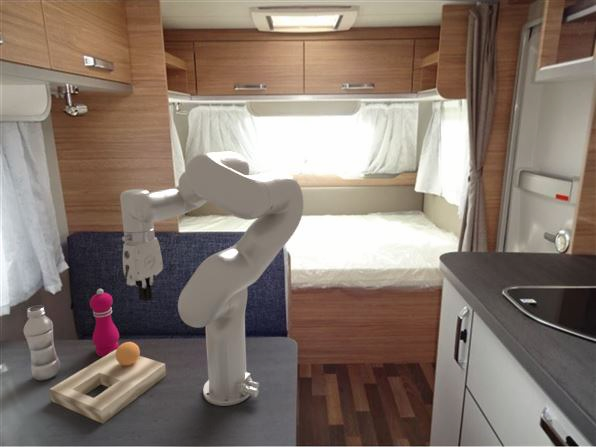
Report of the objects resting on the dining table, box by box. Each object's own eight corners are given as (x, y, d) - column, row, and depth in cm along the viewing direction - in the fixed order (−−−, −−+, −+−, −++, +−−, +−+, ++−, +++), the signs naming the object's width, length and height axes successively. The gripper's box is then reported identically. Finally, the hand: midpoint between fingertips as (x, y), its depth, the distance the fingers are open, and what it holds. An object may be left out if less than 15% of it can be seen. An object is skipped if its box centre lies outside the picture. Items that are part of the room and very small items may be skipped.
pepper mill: (110, 358, 116) (102, 294, 111) (88, 355, 117) (79, 292, 113) (125, 345, 123) (118, 285, 118) (105, 343, 124) (97, 283, 119)
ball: (145, 360, 109) (143, 340, 107) (128, 372, 103) (125, 351, 102) (129, 355, 111) (127, 335, 110) (111, 366, 106) (109, 346, 104)
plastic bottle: (66, 372, 109) (56, 305, 105) (42, 386, 103) (30, 316, 99) (51, 366, 112) (40, 301, 107) (27, 380, 106) (14, 311, 101)
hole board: (166, 375, 108) (165, 363, 107) (102, 423, 90) (101, 410, 89) (118, 359, 115) (117, 348, 114) (51, 401, 98) (49, 388, 97)
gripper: (127, 244, 98) (134, 312, 102) (170, 230, 111) (175, 291, 116) (106, 241, 101) (114, 307, 106) (150, 228, 114) (155, 287, 119)
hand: (146, 299), depth 111 cm, fingers closed
